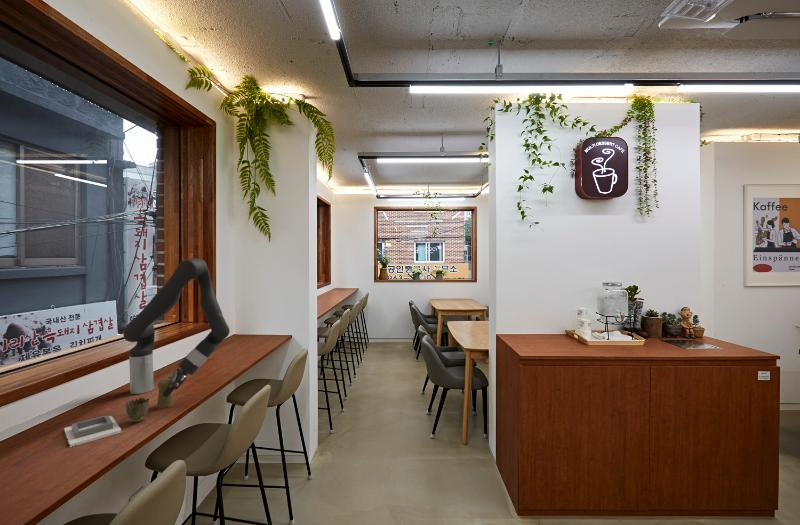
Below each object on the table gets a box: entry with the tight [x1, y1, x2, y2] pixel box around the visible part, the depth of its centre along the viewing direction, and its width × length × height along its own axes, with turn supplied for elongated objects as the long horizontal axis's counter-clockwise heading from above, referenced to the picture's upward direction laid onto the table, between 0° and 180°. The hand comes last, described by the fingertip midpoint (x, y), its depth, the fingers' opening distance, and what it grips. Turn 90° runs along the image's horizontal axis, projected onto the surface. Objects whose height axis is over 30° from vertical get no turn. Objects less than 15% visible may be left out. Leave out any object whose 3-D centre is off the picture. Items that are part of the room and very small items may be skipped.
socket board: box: [63, 414, 122, 448], centre depth 137 cm, size 18×14×3 cm
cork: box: [156, 379, 174, 410], centre depth 160 cm, size 6×6×11 cm
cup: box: [125, 397, 150, 424], centre depth 145 cm, size 8×7×8 cm
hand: (163, 393), depth 159 cm, fingers open, 8 cm apart
